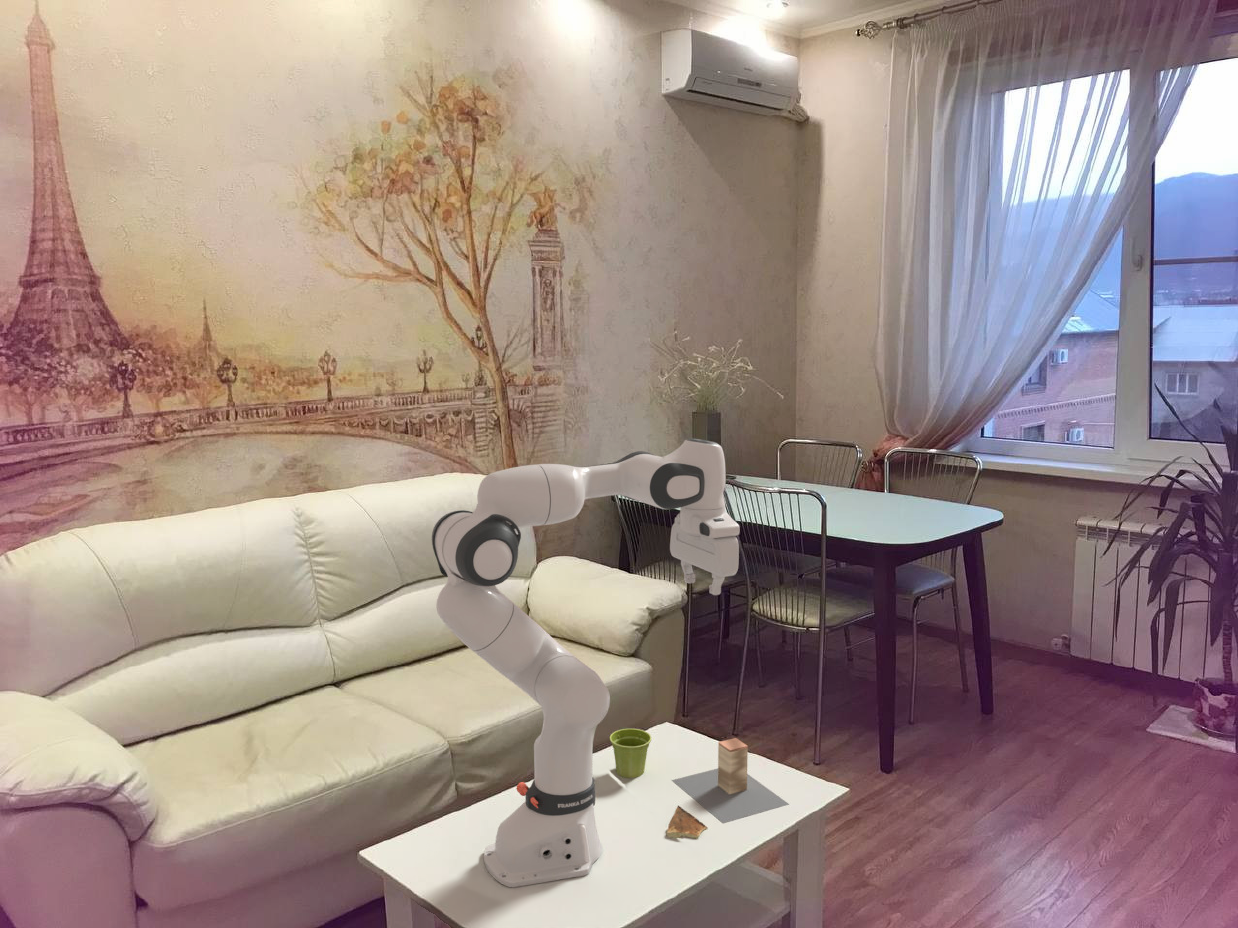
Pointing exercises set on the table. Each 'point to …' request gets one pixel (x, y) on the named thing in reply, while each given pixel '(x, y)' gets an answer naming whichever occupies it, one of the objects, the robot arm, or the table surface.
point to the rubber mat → (729, 796)
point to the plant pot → (630, 751)
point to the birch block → (732, 765)
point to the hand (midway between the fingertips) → (702, 588)
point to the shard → (684, 825)
